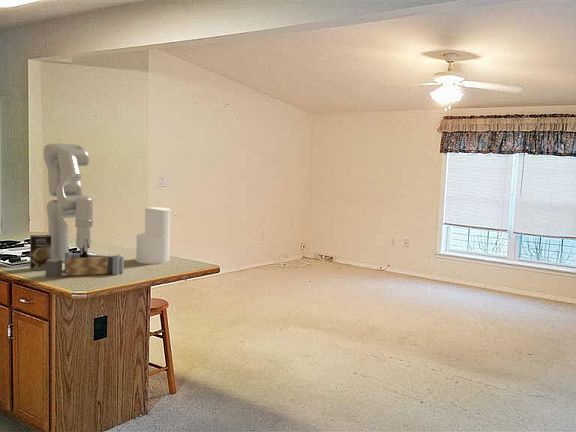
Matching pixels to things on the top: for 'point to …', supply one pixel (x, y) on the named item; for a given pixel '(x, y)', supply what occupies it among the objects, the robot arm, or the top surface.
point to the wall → (117, 261)
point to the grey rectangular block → (53, 267)
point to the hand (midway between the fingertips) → (83, 262)
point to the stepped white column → (154, 237)
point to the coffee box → (39, 251)
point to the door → (88, 265)
